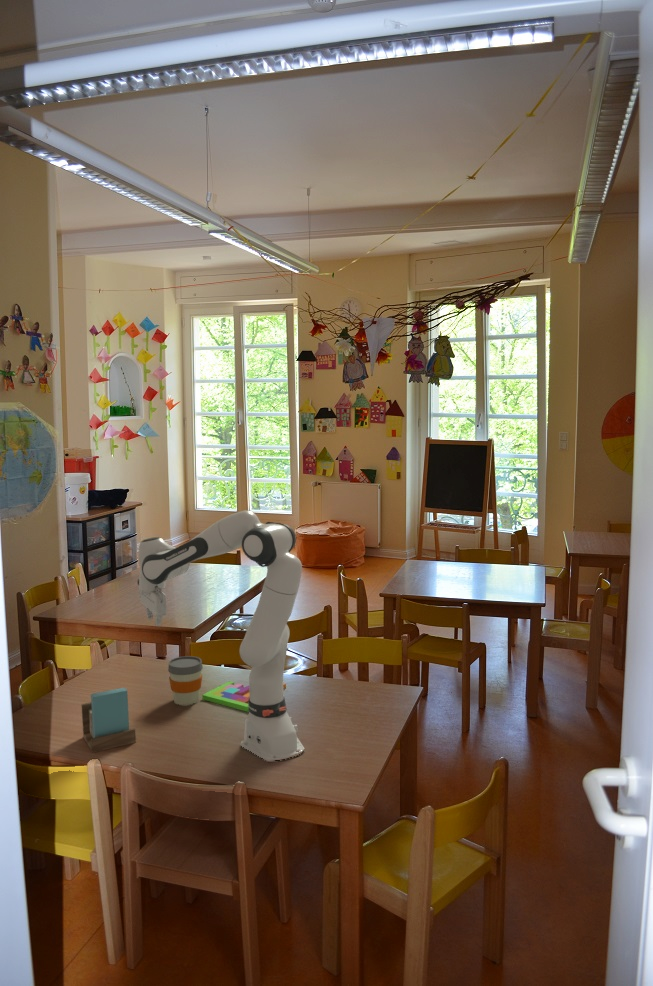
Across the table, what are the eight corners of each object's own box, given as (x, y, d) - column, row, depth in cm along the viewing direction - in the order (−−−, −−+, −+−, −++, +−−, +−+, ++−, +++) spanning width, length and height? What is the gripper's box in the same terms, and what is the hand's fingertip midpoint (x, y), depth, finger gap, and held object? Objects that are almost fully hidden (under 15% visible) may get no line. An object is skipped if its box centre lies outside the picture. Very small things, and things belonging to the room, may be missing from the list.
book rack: (135, 742, 253) (134, 709, 252) (92, 752, 246) (90, 718, 245) (125, 727, 264) (123, 695, 263) (83, 736, 257) (81, 704, 256)
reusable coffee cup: (184, 691, 295) (183, 653, 293) (210, 697, 289) (209, 659, 287) (162, 703, 285) (160, 664, 283) (188, 709, 278) (187, 670, 276)
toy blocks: (250, 713, 276) (290, 690, 297) (250, 707, 276) (290, 684, 296) (202, 700, 288) (244, 679, 309) (202, 694, 288) (244, 673, 309)
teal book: (129, 736, 254) (127, 690, 252) (95, 744, 248) (93, 697, 246) (127, 733, 256) (124, 687, 254) (93, 741, 251) (90, 694, 249)
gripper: (170, 588, 261) (172, 628, 262) (152, 576, 278) (154, 613, 280) (152, 591, 257) (154, 631, 259) (135, 578, 275) (137, 616, 277)
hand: (154, 622), depth 270 cm, fingers open, 8 cm apart
